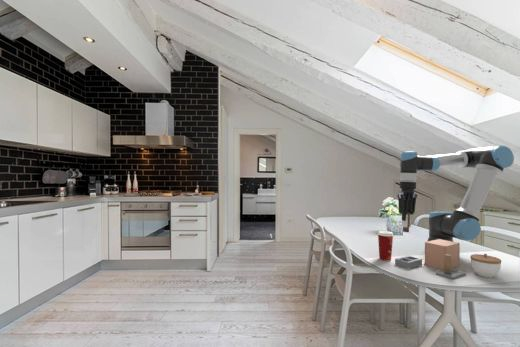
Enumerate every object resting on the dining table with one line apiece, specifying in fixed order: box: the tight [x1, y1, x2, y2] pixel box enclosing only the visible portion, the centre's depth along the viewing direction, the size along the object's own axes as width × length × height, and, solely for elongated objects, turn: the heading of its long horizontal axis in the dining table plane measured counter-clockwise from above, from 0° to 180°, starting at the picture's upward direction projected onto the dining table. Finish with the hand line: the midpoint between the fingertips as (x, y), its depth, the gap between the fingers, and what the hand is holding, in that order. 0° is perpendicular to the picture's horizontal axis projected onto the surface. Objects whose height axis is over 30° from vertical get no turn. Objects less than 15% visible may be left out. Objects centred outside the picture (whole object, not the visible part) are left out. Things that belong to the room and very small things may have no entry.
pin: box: [402, 212, 410, 233], centre depth 146 cm, size 3×3×10 cm
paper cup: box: [377, 230, 394, 261], centre depth 148 cm, size 8×8×14 cm
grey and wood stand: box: [435, 254, 466, 280], centre depth 125 cm, size 11×7×9 cm, turn 121°
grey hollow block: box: [394, 255, 423, 270], centre depth 138 cm, size 11×7×3 cm, turn 121°
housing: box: [424, 239, 461, 270], centre depth 139 cm, size 13×9×11 cm
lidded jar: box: [470, 253, 502, 279], centre depth 125 cm, size 11×11×9 cm
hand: (406, 226), depth 146 cm, fingers closed on pin, 2 cm apart
